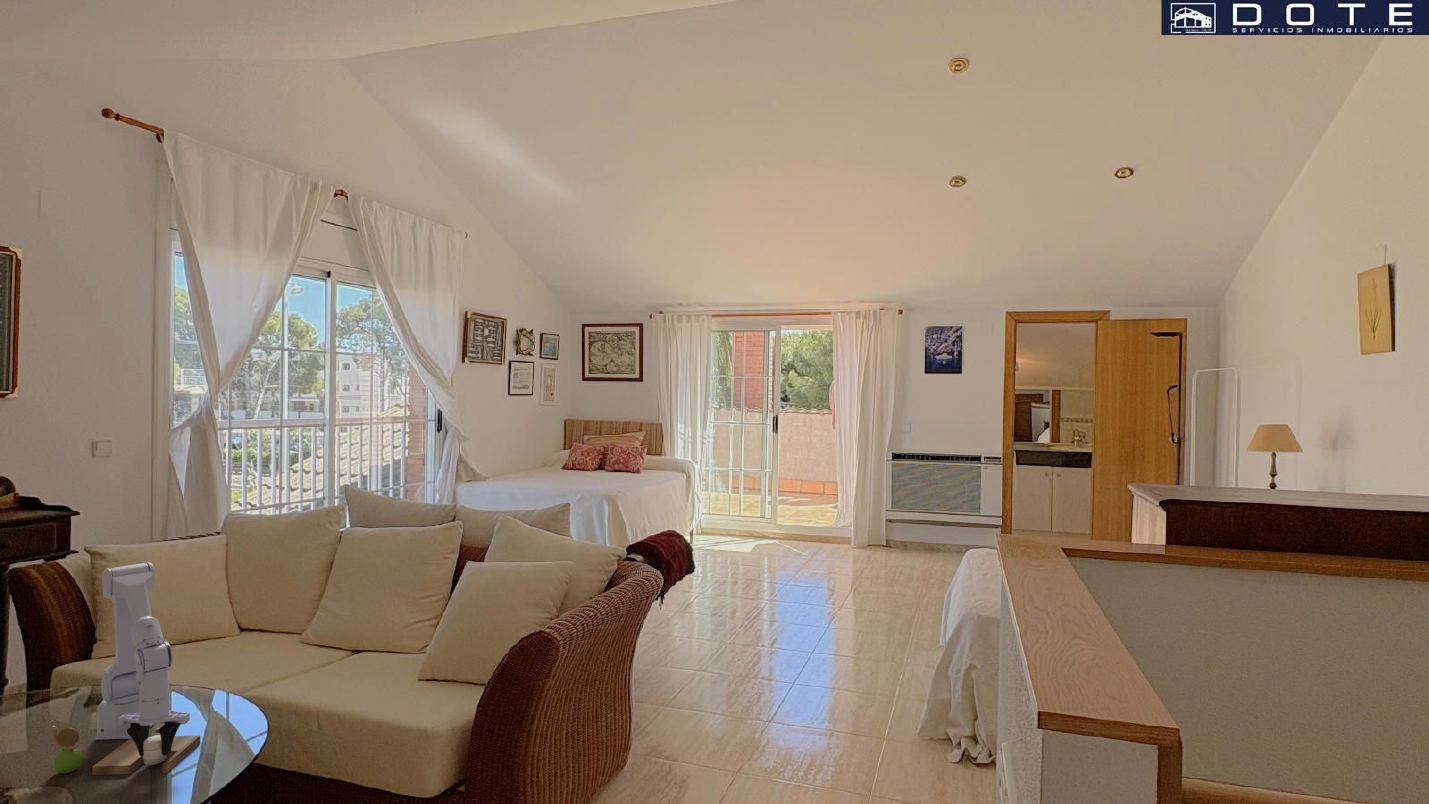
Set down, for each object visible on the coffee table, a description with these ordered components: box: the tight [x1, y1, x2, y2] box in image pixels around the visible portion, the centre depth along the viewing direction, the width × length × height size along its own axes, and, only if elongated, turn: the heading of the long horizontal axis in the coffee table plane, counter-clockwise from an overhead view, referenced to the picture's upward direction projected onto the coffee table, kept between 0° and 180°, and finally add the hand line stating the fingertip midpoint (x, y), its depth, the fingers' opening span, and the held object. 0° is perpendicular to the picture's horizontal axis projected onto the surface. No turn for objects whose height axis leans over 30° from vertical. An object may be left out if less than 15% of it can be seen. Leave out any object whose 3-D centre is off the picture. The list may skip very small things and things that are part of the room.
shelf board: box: [92, 735, 201, 776], centre depth 189 cm, size 16×14×2 cm
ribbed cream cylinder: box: [143, 734, 168, 766], centre depth 185 cm, size 5×5×5 cm
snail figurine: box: [48, 720, 84, 774], centre depth 182 cm, size 5×6×12 cm
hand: (155, 753), depth 185 cm, fingers closed on ribbed cream cylinder, 4 cm apart
